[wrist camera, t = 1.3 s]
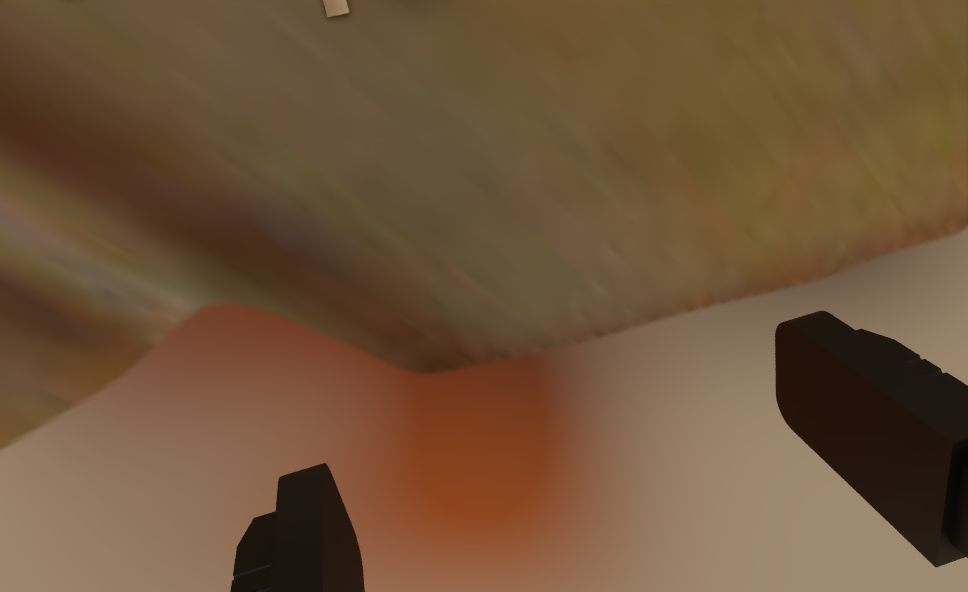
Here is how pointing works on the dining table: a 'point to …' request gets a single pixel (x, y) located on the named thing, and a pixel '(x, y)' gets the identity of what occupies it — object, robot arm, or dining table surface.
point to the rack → (335, 7)
